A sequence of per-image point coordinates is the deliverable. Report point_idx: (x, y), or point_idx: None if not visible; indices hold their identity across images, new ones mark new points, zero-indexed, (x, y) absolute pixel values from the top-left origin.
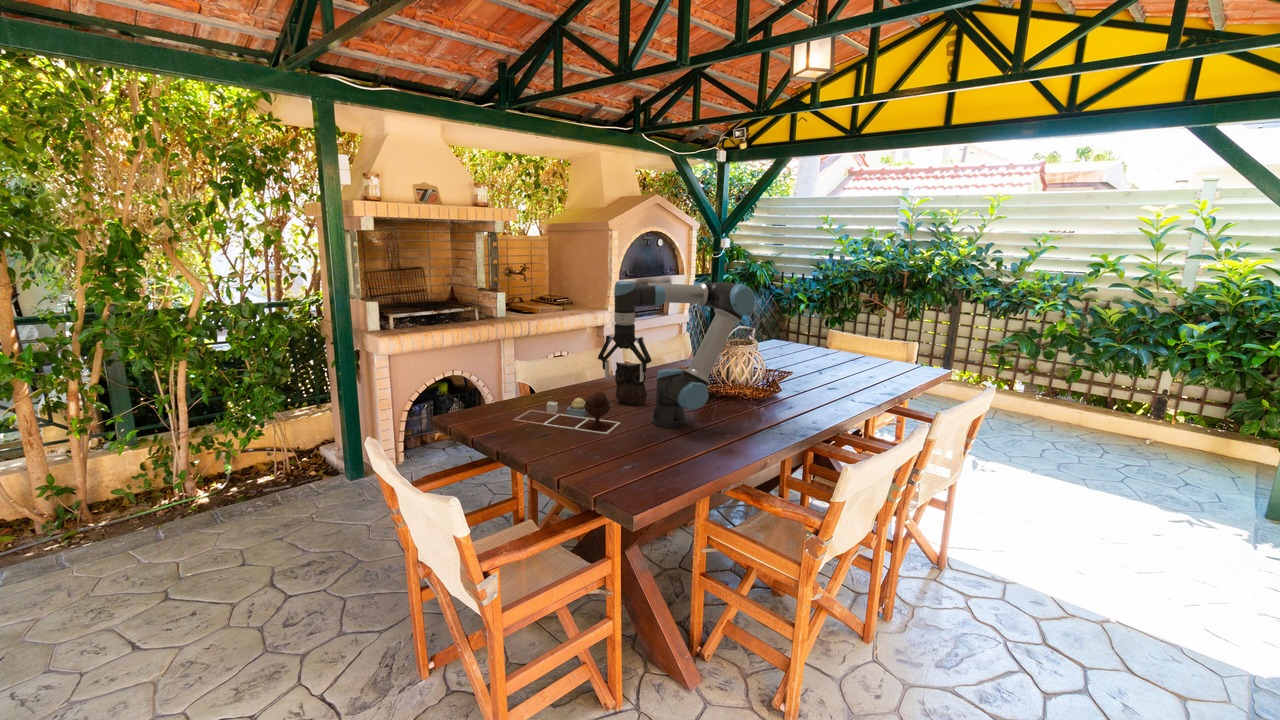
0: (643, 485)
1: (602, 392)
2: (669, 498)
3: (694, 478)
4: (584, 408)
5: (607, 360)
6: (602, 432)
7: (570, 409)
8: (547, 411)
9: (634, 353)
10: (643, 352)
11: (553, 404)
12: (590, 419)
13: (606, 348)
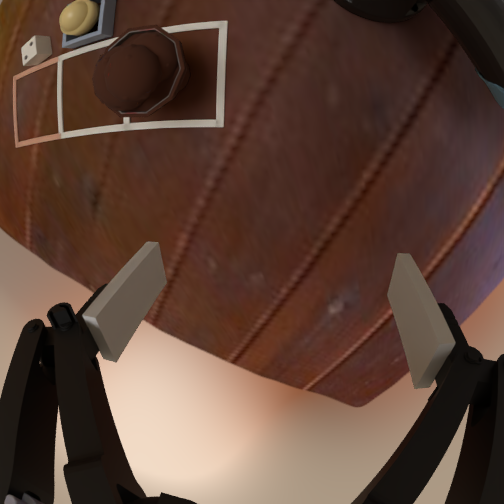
0: (370, 358)
1: (127, 64)
2: (404, 375)
3: None
4: (98, 15)
5: (86, 320)
6: (206, 123)
7: (71, 44)
8: (37, 64)
9: (372, 481)
10: (460, 479)
11: (33, 55)
12: None
13: (34, 417)
